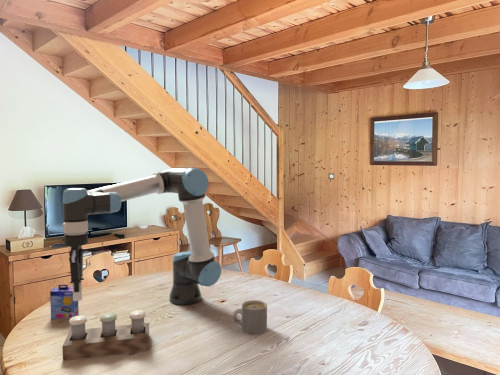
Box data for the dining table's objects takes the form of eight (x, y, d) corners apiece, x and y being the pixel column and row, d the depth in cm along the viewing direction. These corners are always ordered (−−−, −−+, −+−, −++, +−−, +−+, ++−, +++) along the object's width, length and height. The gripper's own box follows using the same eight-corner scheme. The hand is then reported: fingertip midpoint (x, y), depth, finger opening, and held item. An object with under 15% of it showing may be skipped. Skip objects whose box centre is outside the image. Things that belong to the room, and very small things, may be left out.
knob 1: (88, 333, 137) (88, 314, 136) (85, 340, 131) (85, 321, 131) (71, 335, 135) (71, 316, 135) (68, 342, 130) (67, 322, 129)
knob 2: (145, 327, 142) (145, 309, 141) (145, 334, 136) (145, 315, 136) (130, 329, 140) (129, 310, 140) (129, 336, 135) (129, 316, 134)
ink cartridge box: (50, 319, 159) (48, 285, 158) (55, 314, 165) (54, 281, 164) (74, 318, 160) (73, 285, 159) (79, 313, 166) (78, 281, 165)
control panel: (149, 335, 145) (149, 322, 145) (149, 350, 134) (149, 336, 134) (70, 343, 138) (69, 330, 138) (62, 360, 127) (62, 346, 126)
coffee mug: (267, 324, 156) (268, 300, 155) (265, 335, 146) (265, 310, 145) (235, 322, 158) (235, 299, 157) (231, 333, 148) (231, 308, 147)
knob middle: (117, 330, 139) (117, 312, 139) (116, 337, 134) (116, 318, 133) (101, 332, 138) (101, 313, 137) (99, 339, 132) (99, 319, 132)
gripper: (68, 230, 136) (69, 294, 138) (59, 237, 123) (61, 307, 125) (90, 229, 138) (91, 292, 139) (84, 236, 125) (86, 305, 127)
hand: (77, 299), depth 132 cm, fingers closed
